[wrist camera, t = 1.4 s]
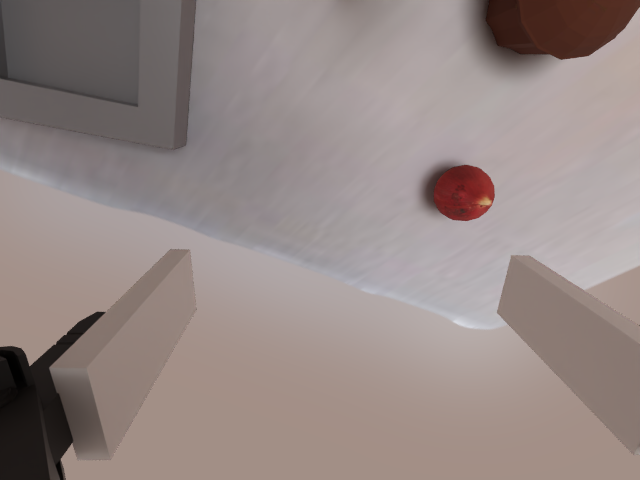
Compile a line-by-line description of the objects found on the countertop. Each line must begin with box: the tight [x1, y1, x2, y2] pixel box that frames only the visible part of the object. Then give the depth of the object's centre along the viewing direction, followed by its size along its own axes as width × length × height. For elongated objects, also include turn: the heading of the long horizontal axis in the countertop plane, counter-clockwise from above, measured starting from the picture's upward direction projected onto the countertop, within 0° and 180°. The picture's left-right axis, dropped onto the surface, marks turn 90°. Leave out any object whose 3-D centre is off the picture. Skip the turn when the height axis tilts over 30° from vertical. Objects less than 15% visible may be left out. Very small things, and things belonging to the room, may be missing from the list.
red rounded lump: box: [434, 165, 495, 221], centre depth 35 cm, size 6×6×8 cm
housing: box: [0, 0, 196, 150], centre depth 28 cm, size 16×18×4 cm
